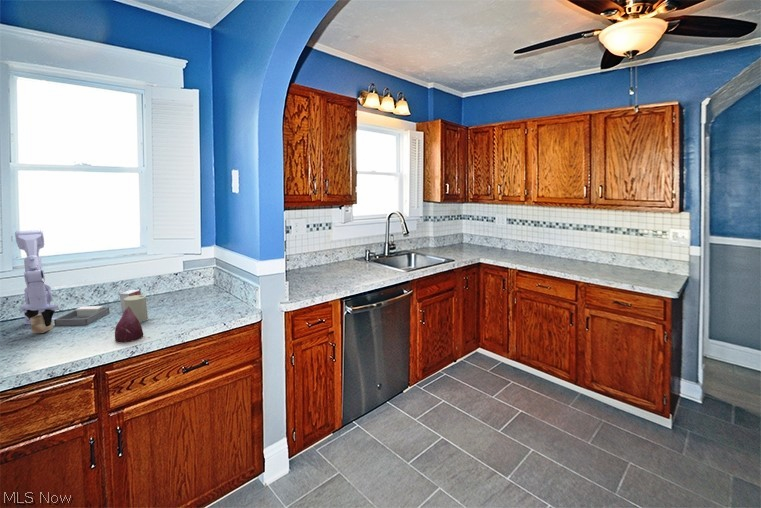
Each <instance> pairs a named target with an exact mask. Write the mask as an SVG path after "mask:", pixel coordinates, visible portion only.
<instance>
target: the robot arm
mask: <svg viewBox="0 0 761 508" xmlns="http://www.w3.org/2000/svg"><path fill="white" fill-rule="evenodd" d="M14 235H15V242H16V244H17V247H18V250H22V251H24V252H25V253H26V257H25V258H24V260H23V262H24V263H23V264H24V272H23V276H24V282H25V284H26V287H25V289H24V299H25V304H26V305H21V306H20V307H19V310H20V312H23V315H24V321H25V322H24V325H25V324H26V325H31V321H30V318H31V317H34V316H36V315H38V314H42V316H43V318H44V321H45V325H46V326H49V325H51V320H52V321H54V320H55V319H57V317H53V315H54V314H55V312H56V311H58V310H59V305H58V304H51V302H53V301H54V299H53V293H52V292H53V291H52V287H51V286H50V284H47V283H45V280H46V279H45V277H46V276H45V271H44V269H43V265H42V259H41V258H40V256H39V252H40V250H41V249H43V248H45V247H44V246H45V237H44V231H43V230H42V229H36V230H35V229H33V230H19V231H18V230H16V231H15V233H14Z"/></svg>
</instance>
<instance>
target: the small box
mask: <svg viewBox="0 0 761 508" xmlns="http://www.w3.org/2000/svg"><path fill="white" fill-rule="evenodd" d="M141 292H142V291H141V290H140V289H129V290H127V291H123V292H120V293H119V299H120V300H119V302H120V310H121V311H120V312H121V313H124V311H125V303H124V298H126V297H129V296H134V295H142V293H141Z"/></svg>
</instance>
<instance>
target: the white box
mask: <svg viewBox="0 0 761 508" xmlns="http://www.w3.org/2000/svg"><path fill="white" fill-rule="evenodd" d="M104 307H105V306H104V305H91V306H90V305H88V306H87V305H85V306H84V305H83V306H79V307H78V308H75V309H74V310H76V312H77V317H90V316H92V315H94V314H96V313H98V312H99V311H101V310H103V308H104Z"/></svg>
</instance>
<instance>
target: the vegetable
mask: <svg viewBox="0 0 761 508" xmlns="http://www.w3.org/2000/svg"><path fill="white" fill-rule="evenodd" d="M122 313H123V314H122V316H121V318H120V319H119V321H118V323H116V326H115V329H114V340H115V342H117V343H121V344H123V343H125V344H126V343H130V342H133V341H137V340H139V339H141V337H142V338H143V337H144V336H143V335H144V330H143V327H142V325H141V322H139V320H138V319H137V317H136V316H135V315H134V313H133V312H132V310H131V308H129V306H128V307H127V308H126V309H125V311H124V312H122Z"/></svg>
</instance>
